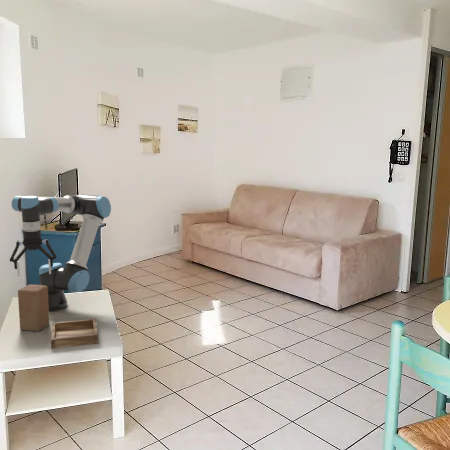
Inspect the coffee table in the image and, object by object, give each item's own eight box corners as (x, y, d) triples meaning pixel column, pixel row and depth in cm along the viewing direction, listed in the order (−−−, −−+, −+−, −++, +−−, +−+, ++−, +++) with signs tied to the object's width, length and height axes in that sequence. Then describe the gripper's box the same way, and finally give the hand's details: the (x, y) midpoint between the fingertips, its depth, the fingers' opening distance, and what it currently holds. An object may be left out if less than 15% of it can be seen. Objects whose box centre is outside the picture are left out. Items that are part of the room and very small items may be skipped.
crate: (52, 330, 225) (51, 322, 224) (96, 326, 231) (95, 318, 230) (50, 348, 206) (50, 339, 205) (98, 343, 212) (98, 335, 211)
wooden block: (38, 332, 222) (36, 291, 218) (19, 330, 224) (16, 289, 220) (50, 324, 232) (48, 285, 228) (31, 322, 233) (29, 283, 230)
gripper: (1, 233, 211) (4, 279, 215) (60, 230, 219) (62, 274, 223) (2, 229, 218) (6, 274, 222) (60, 227, 226) (62, 270, 230)
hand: (34, 274), depth 222 cm, fingers open, 13 cm apart
